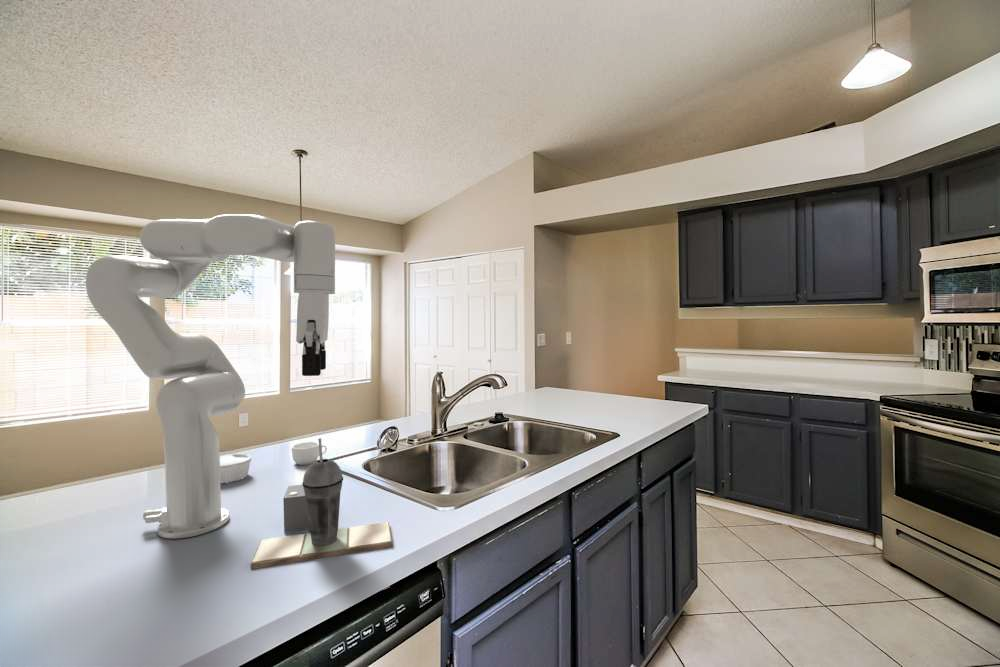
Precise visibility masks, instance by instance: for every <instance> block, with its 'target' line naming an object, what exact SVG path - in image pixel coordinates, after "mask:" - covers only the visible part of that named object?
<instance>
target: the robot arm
mask: <svg viewBox="0 0 1000 667" xmlns="http://www.w3.org/2000/svg"><path fill="white" fill-rule="evenodd" d="M139 242H140V244H141V246H142V248H143V249H144V250H145V252H147V253H148V254H150V255H151V256H153V257H155V258H157V259H153V258H145V257H139V256H132V255H120V254H119V255H107V256H102V257H99V258H98V259H96V260H94V261H93V262H92V263H91V264H90V266H89V267H88V269H87V271H86V274H85V288H86V293H87V297H88V300H89V301H90V304H91V305H92V307H93V308H94V309H95V311H96V312H97V314H99V316H100V317H101V318H102V319H103V321H104V322H106V324H108V326H109V327H110V328H111V329H112V330H113V331H114V333H115V334H116V336H117V337H118V338H119V340H120V342H121V343H122V344H123V346H124V348H125V350H126V351H127V352H128V353H129V355H130V356H131V357H132V359H133V361H134V362H135V364H136V365H137V366H138V368H139V369H140V370H141V372H142V373H143V374H144V375H145V376H146V377H147V378H150V379H152V380H158V381H159V380H170V379H172V380H170V381H168V382H166V383H165V384H164V385H163V386H161V388H160V389H159V391H158V393H157V396H156V400H155V401H156V403H155V404H156V410H157V413H158V416H159V422H160V425H161V430H162V436H163V452H164V454H163V455H164V472H165V474H164V475H165V477H164V478H165V503H166V504H165V505H166V506H163V507H162V508H159V509H155V508H154V509H147V510H144V512H143V515H142V520H143V521H144V522H145V524H150V523H157V522H158V523H159V524H158V526H157V535H158V536H159V537H161V538H164V539H175V540H176V539H184V538H191V537H196V536H199V535H203V534H206V533H210V532H212V531H214V530H216V529H219V528H221V527H222V526H224V525H225V524H226V523H227V522H228V521H229V520H230V515H231V514H230V511H229V510H228V509H227V508H224V507H222V498H221V497H222V495H221V494H222V493H221V484H220V456H221V455H220V439H219V434H218V432H217V429H216V428H215V427H214V425H213V423H212V421H211V419H210V418H212V417H214V416H215V417H216V416H219V415H222V414H226V413H229V412H232V411H234V410H236V409H237V408H239V407H240V406H241V405H242V404H243V402H244V400H245V397H246V388H245V385H244V382H243V379H242V378H241V376H240V375H239V373H238V372H237V371H236V369H235V367H234V366H233V365H232V363H231V362H230V360H229V359H228V358H227V356H226V355H225V354H224V352H223V350H222V349H221V347H220V346H219V345H218V344H217V343H216V342H215V341H214V340H213V339H211V338H209V337H208V336H206V335H203V334H198V333H178V332H175V331H174V330H173V329H172V328H171V327H170V326H169V324H168V323H167V322H166V321H165V319H164V317H163V316H162V315H161V314H160V312H159V311H158V310H156V309H155V308H154V307H152V306H151V305H149V304H148V303H146V302H145V301H144V300H142V299H141V298H151V299H153V298H156V299H157V298H158V299H171V298H175V297H177V296H179V295H180V294H183V292H184V291H186V290H187V289H188V288H189V287H190V286H191V285H192V283H194V282H195V280H196V279H198V278H199V277H200V276H201V275H202V274H203V272H204V271H206V270H207V268H208V267H209V266H210V265H211V264H212V262H215V263H217V262H222V261H225V260H227V259H228V258H229V257H230V256H251V257H258V258H265V259H268V260H269V259H270V260H275V261H280V262H283V263H284V262H286V263H293V293H294V294H298V298H297V311H296V312H297V313H296V333H295V334H296V337H295V338H296V339H295V342H296V343H297V344H301V345H302V344H303V345H302V346H303V347H302V354H301V375H302V376H303V377H318V376H321V374H322V372H321V371H322V370H326V368H327V350H326V341H327V340H328V336H329V317H330V316H329V314H330V312H329V311H330V310H329V307H330V301H329V300H330V299H329V297H330V295H335V294H336V277H335V276H336V231H335V228H334V227H333V226H332V225H331V224H329V223H327V222H323V221H316V220H303V221H298V222H297V223H296V224H295V225H292V224H289V223H285V222H282V221H279V220H276V219H273V218H269V217H267V216H262V215H258V214H219V215H215V216H213V217H212V218H206V219H205V218H203V219H192V218H191V219H186V218H183V219H182V218H176V219H175V218H174V219H172V218H171V219H169V218H167V219H166V218H165V219H157V220H153V221H150V222H148V223H146V224H145V225H144V226H143V227H142V228H141V230H140V233H139Z"/></svg>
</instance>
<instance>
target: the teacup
mask: <svg viewBox="0 0 1000 667" xmlns="http://www.w3.org/2000/svg"><path fill="white" fill-rule="evenodd" d="M322 448H325V449H324V451H322V455H324V454H325V453H326V452H327V449H328V448H327V446H326V445H324V444H323V445H322ZM291 454H292V455H291V456H292V460H293V462H294V463H295V464H297V465H299V466H305V465H306V466H307V465H308V466H309V465H311V464H312V463H313V462H315V461H317V460H318V458H319V457H320V455H319V441H302V442H298V443H296V444H293V445H291Z"/></svg>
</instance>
